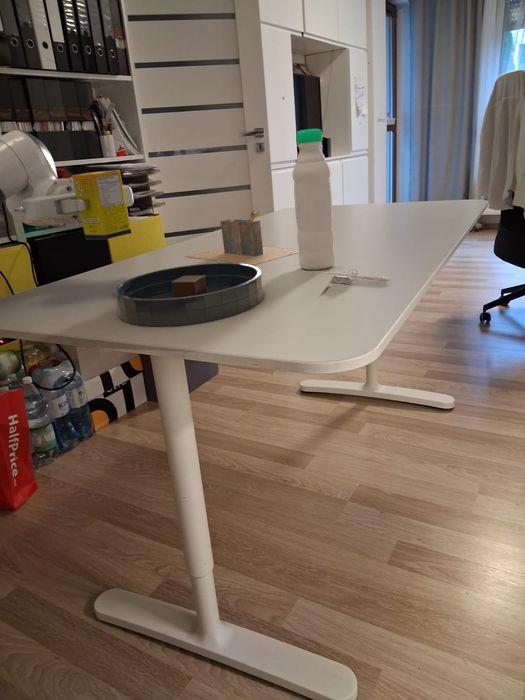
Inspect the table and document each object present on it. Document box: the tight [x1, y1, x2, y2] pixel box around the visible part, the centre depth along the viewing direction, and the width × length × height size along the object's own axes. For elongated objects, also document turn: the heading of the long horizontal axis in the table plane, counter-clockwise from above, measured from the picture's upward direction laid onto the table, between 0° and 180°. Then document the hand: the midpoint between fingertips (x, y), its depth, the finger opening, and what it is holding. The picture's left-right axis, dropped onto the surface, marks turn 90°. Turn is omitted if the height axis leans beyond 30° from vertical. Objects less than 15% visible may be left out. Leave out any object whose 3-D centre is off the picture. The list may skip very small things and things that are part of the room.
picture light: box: [323, 267, 391, 285], centre depth 89 cm, size 14×4×2 cm, turn 46°
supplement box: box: [71, 169, 132, 241], centre depth 91 cm, size 6×6×11 cm
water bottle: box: [292, 128, 336, 271], centre depth 98 cm, size 7×7×25 cm
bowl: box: [113, 262, 264, 327], centre depth 84 cm, size 23×23×4 cm
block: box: [171, 276, 207, 298], centre depth 84 cm, size 4×4×4 cm
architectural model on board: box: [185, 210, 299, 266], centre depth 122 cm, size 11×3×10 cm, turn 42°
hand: (104, 201), depth 90 cm, fingers closed on supplement box, 6 cm apart
